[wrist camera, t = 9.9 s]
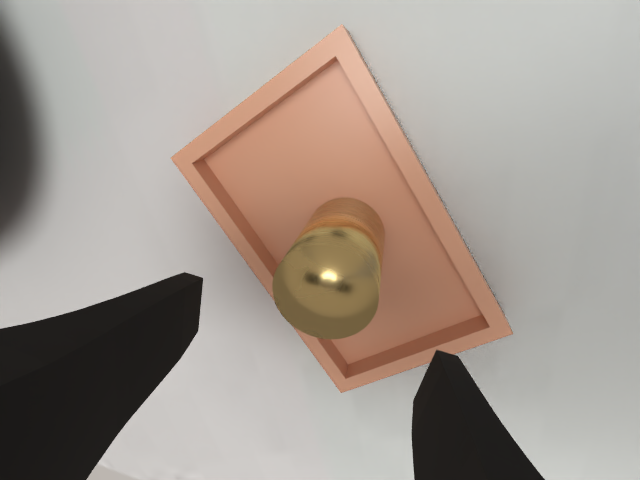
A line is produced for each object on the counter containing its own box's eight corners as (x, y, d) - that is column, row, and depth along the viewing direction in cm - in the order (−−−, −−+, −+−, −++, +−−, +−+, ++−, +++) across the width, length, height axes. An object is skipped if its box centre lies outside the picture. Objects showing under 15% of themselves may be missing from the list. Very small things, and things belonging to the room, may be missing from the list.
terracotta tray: (503, 313, 19) (513, 333, 18) (345, 371, 23) (341, 392, 21) (347, 30, 16) (341, 24, 14) (189, 152, 20) (170, 157, 18)
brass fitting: (397, 215, 18) (396, 271, 13) (367, 280, 20) (354, 354, 14) (322, 185, 18) (289, 228, 13) (298, 252, 20) (260, 314, 14)
